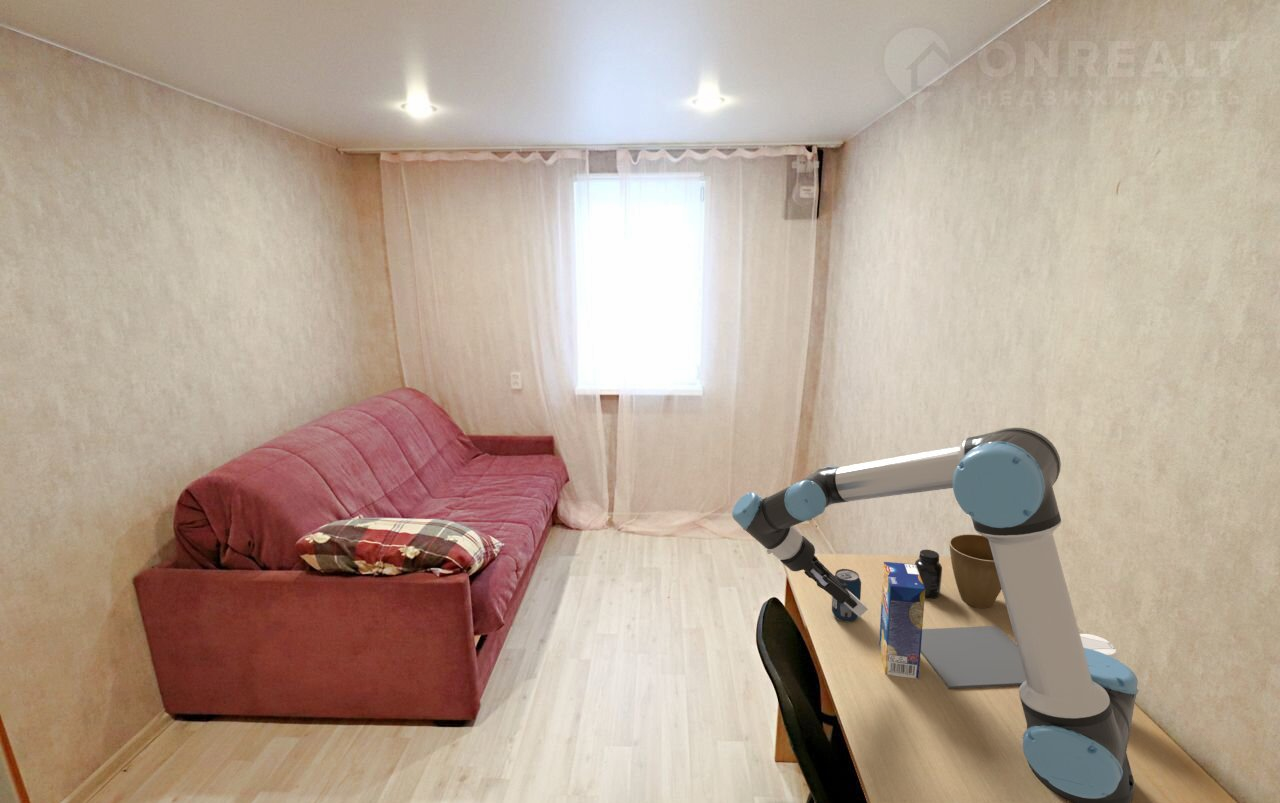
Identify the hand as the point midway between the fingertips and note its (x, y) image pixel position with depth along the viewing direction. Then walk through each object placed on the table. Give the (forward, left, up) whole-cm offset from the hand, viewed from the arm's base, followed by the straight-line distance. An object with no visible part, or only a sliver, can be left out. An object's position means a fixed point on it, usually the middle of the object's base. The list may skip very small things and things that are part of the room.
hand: (862, 611), depth 130 cm
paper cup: (-16, -40, -13) cm, 45 cm away
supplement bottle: (+27, -29, -13) cm, 42 cm away
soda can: (+18, -3, -13) cm, 23 cm away
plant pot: (+22, -40, -13) cm, 48 cm away
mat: (0, -27, -13) cm, 30 cm away
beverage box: (0, -9, -13) cm, 16 cm away
